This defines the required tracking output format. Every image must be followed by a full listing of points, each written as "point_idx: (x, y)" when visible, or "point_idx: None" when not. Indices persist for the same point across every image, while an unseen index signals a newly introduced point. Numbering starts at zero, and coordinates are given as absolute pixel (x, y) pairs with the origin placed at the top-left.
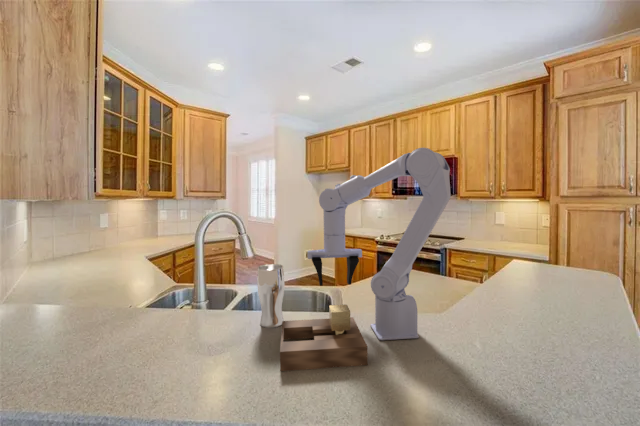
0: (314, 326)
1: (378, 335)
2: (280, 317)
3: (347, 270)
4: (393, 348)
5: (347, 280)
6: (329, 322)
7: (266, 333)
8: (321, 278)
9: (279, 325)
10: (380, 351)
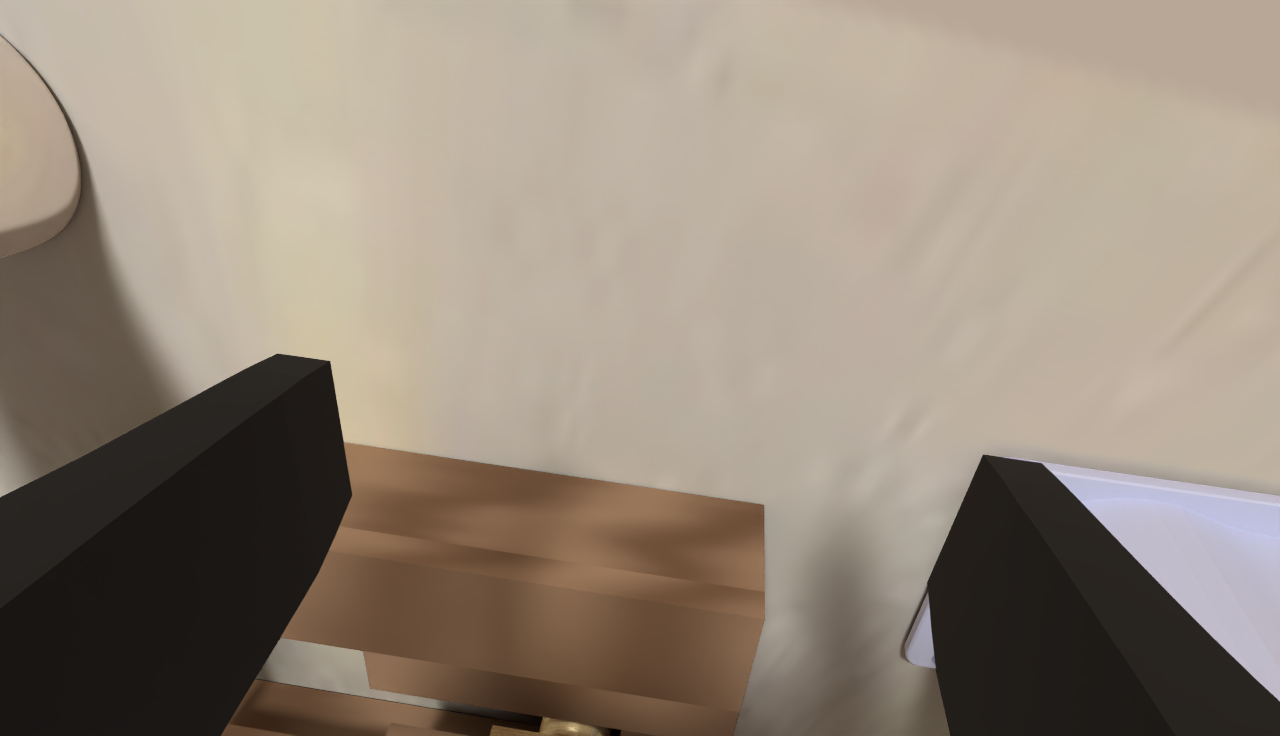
0: (380, 653)
1: (928, 632)
2: (3, 234)
3: (1142, 718)
4: (938, 719)
5: (981, 537)
6: (491, 730)
7: (5, 329)
8: (246, 660)
9: (61, 227)
10: (835, 719)
